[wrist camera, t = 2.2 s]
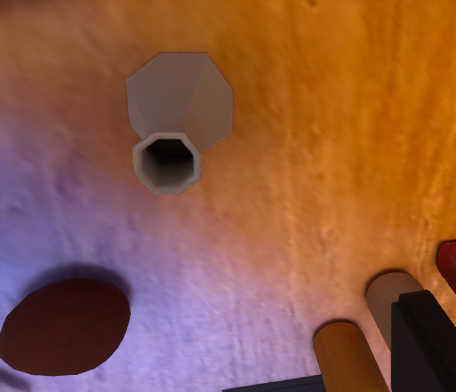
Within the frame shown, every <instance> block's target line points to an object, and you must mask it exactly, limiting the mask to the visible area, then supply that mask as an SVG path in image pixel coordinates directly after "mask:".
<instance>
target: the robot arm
mask: <svg viewBox="0 0 456 392" xmlns="http://www.w3.org/2000/svg"><path fill="white" fill-rule="evenodd" d="M391 389H392V392H456V327H455V326H454V324H453V323H452V321H451V320H450V319H449V317H448V316H447V314H446V313H445V311H444V310H443V309H442V307H441V306H440V304H439V303H438V302H437V300H436V299H435V297H434V296H433V294H432V293H431V292H430V291H429V290H421V291H415V292H409V293H402V294H400V295H399V300H398V301H396V302H392V304H391Z"/></svg>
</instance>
